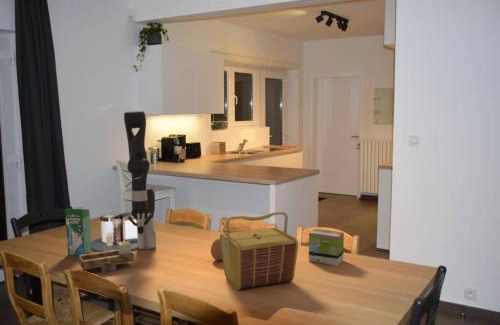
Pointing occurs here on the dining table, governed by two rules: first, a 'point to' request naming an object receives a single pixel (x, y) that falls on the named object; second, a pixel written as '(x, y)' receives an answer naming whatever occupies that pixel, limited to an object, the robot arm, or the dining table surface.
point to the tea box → (326, 246)
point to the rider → (124, 247)
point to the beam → (104, 260)
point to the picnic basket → (258, 254)
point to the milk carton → (78, 231)
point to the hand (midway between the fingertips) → (140, 233)
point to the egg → (216, 250)
